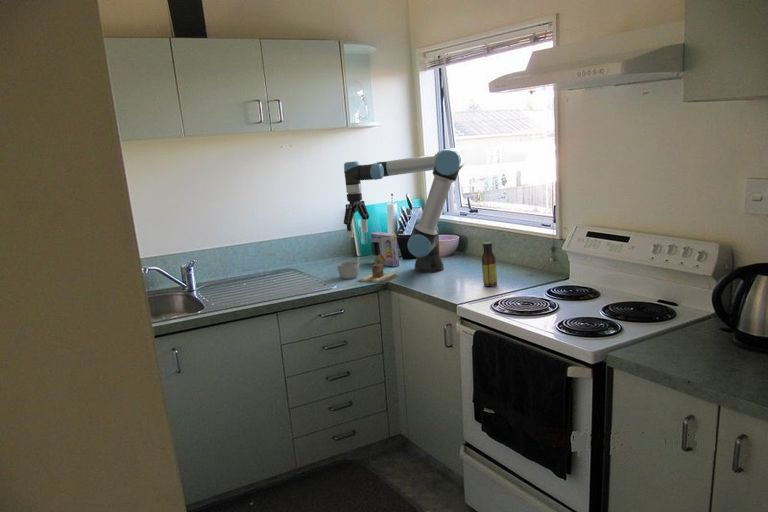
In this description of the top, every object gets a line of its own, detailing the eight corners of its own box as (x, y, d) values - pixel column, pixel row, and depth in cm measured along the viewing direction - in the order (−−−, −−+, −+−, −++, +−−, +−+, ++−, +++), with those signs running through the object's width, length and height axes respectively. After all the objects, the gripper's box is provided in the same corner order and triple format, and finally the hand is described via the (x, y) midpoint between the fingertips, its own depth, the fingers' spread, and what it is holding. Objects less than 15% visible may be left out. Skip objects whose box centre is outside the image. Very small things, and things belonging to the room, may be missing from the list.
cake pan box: (371, 262, 324) (369, 232, 321) (379, 261, 327) (376, 230, 324) (392, 267, 309) (390, 235, 305) (400, 266, 312) (397, 233, 308)
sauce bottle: (498, 283, 263) (496, 241, 259) (496, 287, 257) (494, 244, 253) (483, 283, 265) (482, 241, 261) (481, 287, 259) (479, 244, 255)
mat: (399, 276, 290) (399, 275, 290) (384, 284, 276) (384, 283, 276) (372, 274, 298) (372, 273, 297) (356, 282, 284) (356, 281, 284)
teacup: (359, 280, 288) (357, 264, 286) (337, 281, 288) (336, 266, 287) (360, 273, 302) (359, 258, 300) (340, 274, 302) (338, 259, 300)
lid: (395, 276, 289) (394, 262, 288) (383, 282, 278) (382, 268, 277) (373, 274, 295) (372, 261, 294) (360, 281, 284) (359, 267, 283)
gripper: (361, 190, 300) (364, 230, 304) (333, 196, 279) (338, 239, 283) (373, 189, 296) (377, 230, 300) (346, 196, 275) (350, 239, 280)
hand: (358, 234), depth 292 cm, fingers open, 13 cm apart
